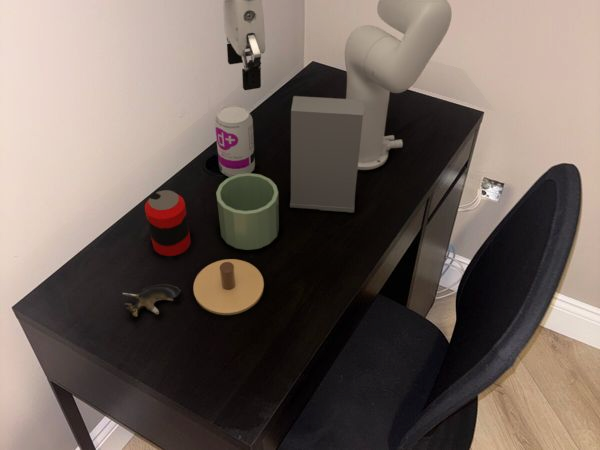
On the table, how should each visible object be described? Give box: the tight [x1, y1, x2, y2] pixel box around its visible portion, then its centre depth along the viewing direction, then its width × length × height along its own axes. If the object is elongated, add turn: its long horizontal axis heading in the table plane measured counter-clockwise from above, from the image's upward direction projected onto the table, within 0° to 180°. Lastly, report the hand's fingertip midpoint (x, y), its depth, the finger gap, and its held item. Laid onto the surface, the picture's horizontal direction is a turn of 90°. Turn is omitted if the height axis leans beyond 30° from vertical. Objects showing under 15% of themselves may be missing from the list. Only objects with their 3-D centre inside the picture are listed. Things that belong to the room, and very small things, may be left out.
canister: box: [215, 172, 280, 251], centre depth 122 cm, size 12×12×10 cm
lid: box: [192, 258, 265, 316], centre depth 112 cm, size 13×13×6 cm
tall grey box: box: [289, 95, 363, 213], centre depth 124 cm, size 14×6×25 cm, turn 85°
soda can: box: [144, 189, 192, 257], centre depth 119 cm, size 8×8×12 cm
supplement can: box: [214, 104, 256, 178], centre depth 135 cm, size 8×8×15 cm
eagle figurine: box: [122, 284, 182, 318], centre depth 109 cm, size 8×7×9 cm
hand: (243, 75), depth 111 cm, fingers open, 9 cm apart
